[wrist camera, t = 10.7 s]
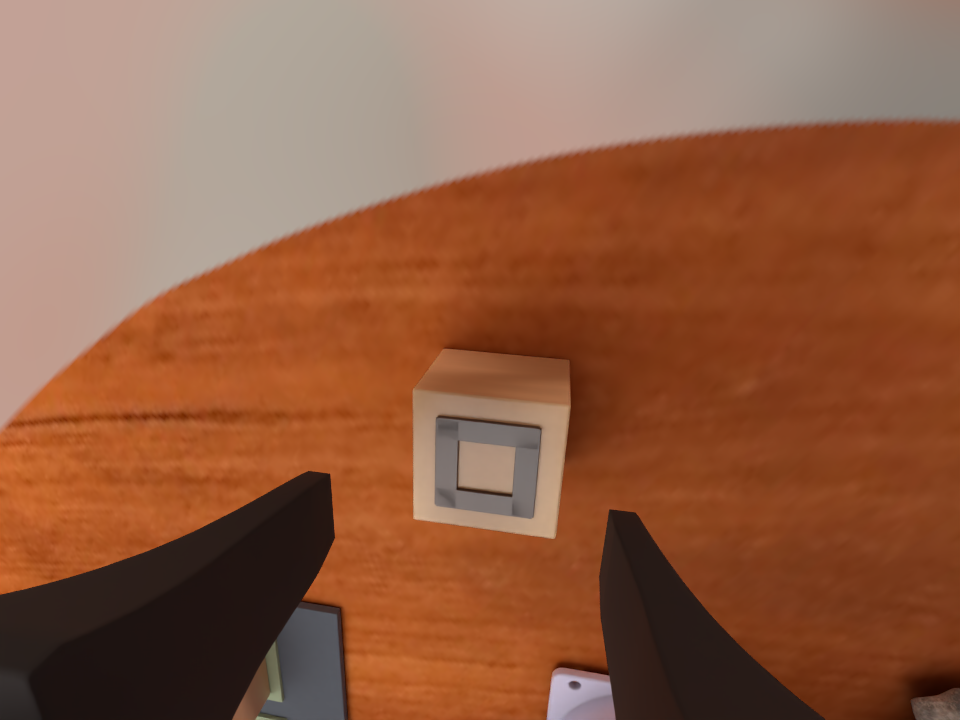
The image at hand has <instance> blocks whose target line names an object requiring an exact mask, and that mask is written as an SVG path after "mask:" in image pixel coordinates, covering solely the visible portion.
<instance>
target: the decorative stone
mask: <svg viewBox="0 0 960 720" xmlns="http://www.w3.org/2000/svg"><path fill="white" fill-rule="evenodd" d="M911 705H912V710H913V714H914V716H915V719H916V720H960V688H952V689H950V690H948V691H946V692H943V693H941V694H939V695H936V696H926V697H916V698H913V699H912V700H911Z"/></svg>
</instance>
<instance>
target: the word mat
mask: <svg viewBox="0 0 960 720" xmlns="http://www.w3.org/2000/svg"><path fill="white" fill-rule="evenodd" d="M265 659H266V666H267V673H268V680H269V687H270V695H269V697H268V699H267V700H266V702H265V704H264V706H263V707H262V709H261V711H260V713H259V714H258V716H257V718H256V719H255V720H348V716H347V702H346V687H345V672H344V658H343V643H342V628H341V613H340V608H336V607H330V606H324V605H318V604H312V603H306V602H300V603H299V605H298V606H297V608H296V609H295V611H294V612H293V614H292V616H291V617H290V619H289V620H288V622H287V623H286V625H285V626H284V628H283V630H282V631H281V633H280V634H279V636H278V637H277V639H276V640H275V642H274V644H273V645H272V647H271V648H270V650H269V651H268V653H267V655H266V656H265Z"/></svg>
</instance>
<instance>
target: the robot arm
mask: <svg viewBox="0 0 960 720" xmlns="http://www.w3.org/2000/svg"><path fill="white" fill-rule="evenodd" d="M334 539H335V533H334V520H333V506H332V492H331V479H330V474H327V473H320V472H312V471H308V472H306V473H303V474H301V475H299V476H297V477H295V478H294V479H292V480H290V481H288V482H286V483H284V484H283V485H281V486H279V487H277V488H276V489H274V490H272V491H270V492H268V493H267V494H265V495H263V496H261V497H259V498H258V499H256V500H254V501H252V502H250V503H249V504H247V505H245V506H243V507H241V508H240V509H238V510H236V511H234V512H232V513H230V514H228V515H226V516H224V517H222V518H220V519H218V520H216V521H214V522H212V523H210V524H208V525H206V526H204V527H202V528H200V529H198V530H196V531H194V532H192V533H190V534H187V535H185V536H183V537H181V538H179V539H176V540H174V541H171V542H169V543H167V544H164V545H162V546H159V547H157V548H155V549H152V550H150V551H147V552H144V553H142V554H139V555H136V556H133V557H130V558H127V559H125V560H122V561H119V562H116V563H113V564H110V565H108V566H105V567H102V568H99V569H96V570H93V571H89V572H86V573H83V574H79V575H76V576H73V577H69V578H66V579H62V580H59V581H55V582H51V583H48V584H44V585H40V586H36V587H32V588H28V589H24V590H20V591H15V592H11V593H7V594H2V595H0V720H232V719H233V717H234V715H235V713H236V711H237V709H238V707H239V705H240V703H241V701H242V699H243V697H244V695H245V693H246V691H247V690H248V688H249V686H250V684H251V682H252V680H253V678H254V676H255V674H256V672H257V670H258V668H259V667H260V665H261V663H262V662H263V660H264V658H265V656H266V655H267V653H268V651H269V650H270V648H271V647H272V645H273V644H274V642H275V640H276V639H277V637H278V636H279V634H280V633H281V631H282V630H283V628H284V626H285V625H286V623H287V622H288V620H289V619H290V617H291V616H292V614H293V612H294V611H295V609H296V608H297V606H298V605H299V603H300V602H301V600H302V598H303V597H304V595H305V594H306V592H307V590H308V589H309V587H310V586H311V584H312V583H313V581H314V579H315V578H316V576H317V574H318V573H319V571H320V569H321V567H322V565H323V563H324V561H325V558H326V556H327V554H328V552H329V550H330V547H331V545H332V543H333V541H334ZM599 581H600V611H601V622H602V630H603V636H604V643H605V650H606V657H607V664H608V670H609V675H604V674H598V673H592V672H586V671H581V670H575V669H569V668H557V669H555V670H554V671H553V673H552V678H551V686H550V695H549V703H548V711H547V719H546V720H825V719H824V718H823V717H822V716H820V715H819V714H818V713H817V712H815V711H814V710H813V709H811V708H810V707H809V706H808V705H806V704H805V703H804V702H803V701H801V700H800V699H799V698H798V697H797V696H795V695H794V694H793V693H792V692H791V691H789V690H788V689H787V688H786V687H785V686H783V685H782V684H781V683H780V682H779V681H778V680H777V679H775V678H774V677H773V676H772V675H771V674H770V673H769V672H768V671H767V670H765V669H764V668H763V667H762V666H761V665H760V664H759V663H758V662H757V661H755V660H754V659H753V658H752V657H751V656H750V655H749V654H748V653H747V652H746V651H745V650H744V649H743V648H742V647H741V646H740V645H739V644H738V643H737V642H736V641H735V640H734V639H733V638H732V637H731V636H730V635H729V634H728V633H727V632H726V631H725V630H724V629H723V628H722V627H721V626H720V625H719V624H718V623H717V622H716V620H715V619H714V618H713V617H712V616H711V615H710V614H709V613H708V611H707V610H706V609H705V608H704V607H703V606H702V604H701V603H700V602H699V601H698V599H697V598H696V597H695V596H694V595H693V593H692V592H691V591H690V590H689V588H688V587H687V586H686V585H685V583H684V582H683V581H682V579H681V578H680V577H679V575H678V574H677V573H676V571H675V570H674V569H673V567H672V566H671V564H670V563H669V562H668V560H667V559H666V558H665V556H664V555H663V553H662V552H661V550H660V549H659V547H658V546H657V544H656V543H655V541H654V540H653V538H652V537H651V535H650V534H649V532H648V531H647V529H646V528H645V526H644V524H643V523H642V521H641V520H640V518H639V517H638V515H637V514H636V513H634V512H626V511H618V510H610V509H609V516H608V522H607V529H606V536H605V542H604V549H603V556H602V562H601V569H600V575H599Z"/></svg>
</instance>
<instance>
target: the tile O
mask: <svg viewBox="0 0 960 720" xmlns="http://www.w3.org/2000/svg"><path fill="white" fill-rule="evenodd" d="M570 409H571V396H570V361H569V360H565V359H554V358H544V357H533V356H522V355H511V354H500V353H489V352H478V351H467V350H456V349H443V350H442V351H441V353H440V354H439V355H438V357H437V358H436V359H435V361H434V362H433V363H432V365H431V366H430V367H429V369H428V370H427V371H426V373H425V374H424V375H423V377H422V378H421V379H420V381H419V382H418V383H417V385H416V386H415V387H414V389H413V518H414V519H415V520H422V521H429V522H436V523H444V524H451V525H458V526H465V527H472V528H479V529H486V530H493V531H501V532H508V533H515V534H522V535H529V536H536V537H543V538H550V539H555V538H556V533H557V524H558V516H559V507H560V498H561V489H562V480H563V471H564V462H565V454H566V445H567V436H568V427H569V418H570Z"/></svg>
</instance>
